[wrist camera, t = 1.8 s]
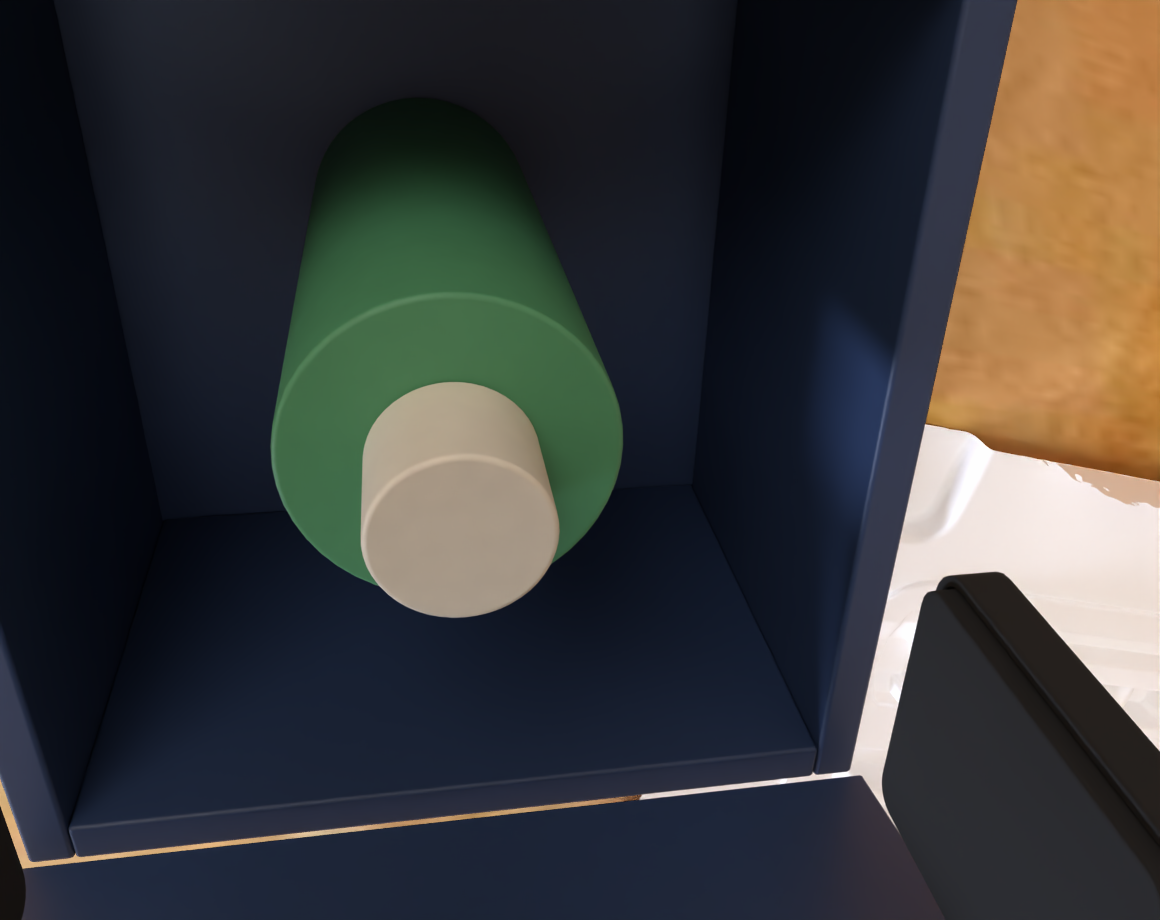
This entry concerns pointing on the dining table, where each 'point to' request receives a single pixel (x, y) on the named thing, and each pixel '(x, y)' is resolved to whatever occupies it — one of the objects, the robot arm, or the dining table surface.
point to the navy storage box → (622, 337)
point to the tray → (1020, 574)
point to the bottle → (438, 370)
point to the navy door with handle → (537, 867)
